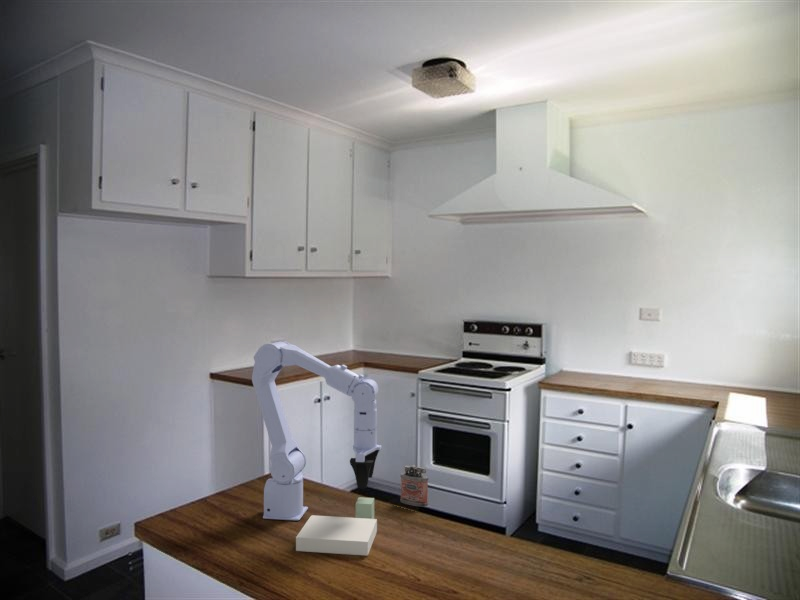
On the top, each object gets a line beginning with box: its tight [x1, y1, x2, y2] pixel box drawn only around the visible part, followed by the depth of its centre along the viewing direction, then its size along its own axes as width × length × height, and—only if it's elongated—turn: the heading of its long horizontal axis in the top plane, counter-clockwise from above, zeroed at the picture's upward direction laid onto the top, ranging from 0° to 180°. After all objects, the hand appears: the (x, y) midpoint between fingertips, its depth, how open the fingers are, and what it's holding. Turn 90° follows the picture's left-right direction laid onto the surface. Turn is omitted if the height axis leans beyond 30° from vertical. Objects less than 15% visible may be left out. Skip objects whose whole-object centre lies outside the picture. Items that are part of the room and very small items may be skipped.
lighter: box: [399, 464, 429, 508], centre depth 149 cm, size 8×3×10 cm, turn 62°
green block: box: [355, 496, 375, 519], centre depth 138 cm, size 4×4×5 cm
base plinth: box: [295, 514, 378, 557], centre depth 126 cm, size 16×12×3 cm
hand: (365, 482), depth 138 cm, fingers open, 7 cm apart
